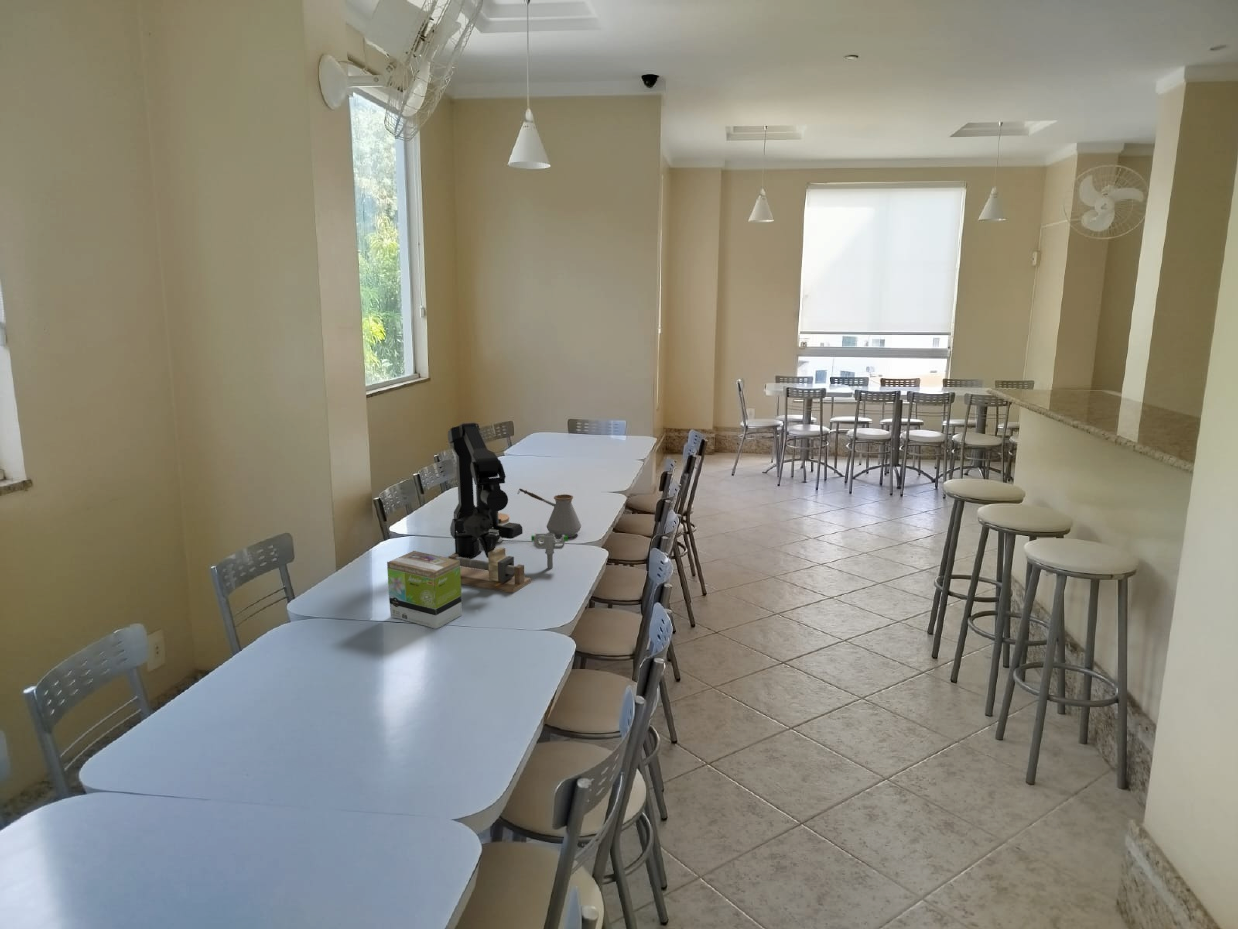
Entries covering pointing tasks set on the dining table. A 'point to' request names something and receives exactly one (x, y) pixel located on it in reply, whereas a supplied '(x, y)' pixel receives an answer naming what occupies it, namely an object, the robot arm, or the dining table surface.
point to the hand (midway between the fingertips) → (489, 557)
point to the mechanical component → (548, 545)
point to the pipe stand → (482, 577)
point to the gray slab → (501, 569)
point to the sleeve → (495, 562)
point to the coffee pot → (561, 515)
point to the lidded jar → (503, 521)
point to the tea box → (424, 589)
